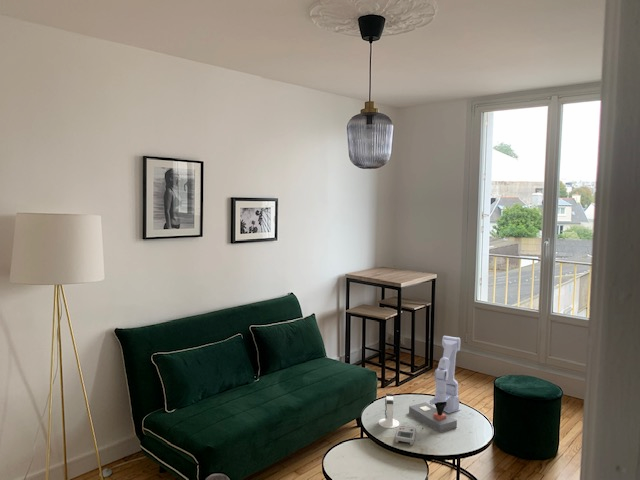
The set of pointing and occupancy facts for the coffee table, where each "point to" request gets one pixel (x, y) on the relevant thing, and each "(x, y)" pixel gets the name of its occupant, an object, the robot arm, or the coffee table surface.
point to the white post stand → (389, 414)
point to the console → (432, 418)
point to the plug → (425, 408)
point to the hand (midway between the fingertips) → (439, 414)
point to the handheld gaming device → (406, 434)
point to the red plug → (439, 416)
